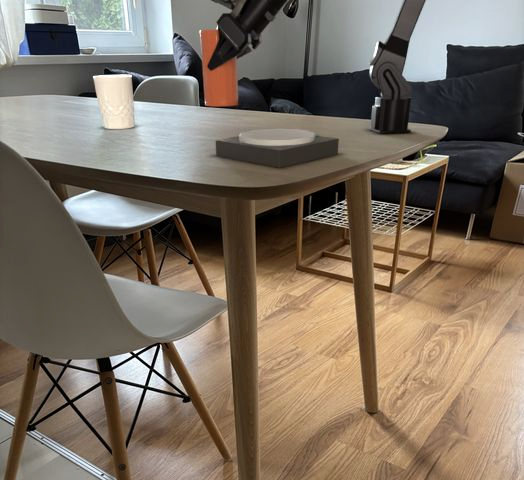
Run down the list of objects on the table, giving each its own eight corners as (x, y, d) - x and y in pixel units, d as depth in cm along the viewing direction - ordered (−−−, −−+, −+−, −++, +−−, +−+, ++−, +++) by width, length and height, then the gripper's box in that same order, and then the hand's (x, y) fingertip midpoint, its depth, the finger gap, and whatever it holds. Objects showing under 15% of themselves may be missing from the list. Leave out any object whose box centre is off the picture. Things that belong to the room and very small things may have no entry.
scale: (274, 144, 91) (274, 125, 89) (337, 154, 83) (339, 133, 81) (216, 155, 83) (215, 134, 81) (279, 167, 74) (279, 144, 72)
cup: (236, 102, 108) (233, 30, 101) (240, 105, 102) (237, 29, 95) (204, 103, 107) (199, 30, 100) (206, 106, 101) (201, 30, 95)
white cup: (133, 129, 109) (126, 76, 104) (96, 129, 109) (87, 77, 104) (141, 124, 116) (135, 74, 111) (107, 124, 116) (99, 75, 111)
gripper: (244, -32, 100) (194, 35, 107) (225, -46, 84) (168, 34, 91) (283, 15, 103) (232, 77, 110) (273, 10, 87) (214, 83, 94)
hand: (213, 68), depth 101 cm, fingers closed on cup, 7 cm apart
